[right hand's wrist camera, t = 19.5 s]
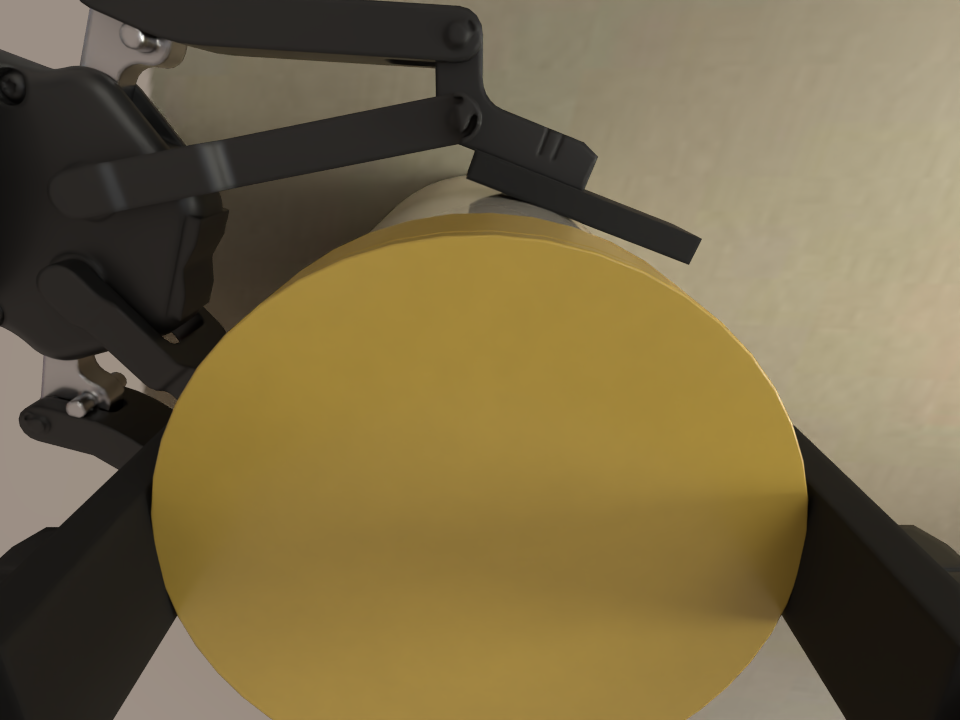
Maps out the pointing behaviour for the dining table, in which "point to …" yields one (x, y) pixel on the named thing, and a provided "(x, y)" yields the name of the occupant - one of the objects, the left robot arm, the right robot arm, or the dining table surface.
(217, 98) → the dining table surface
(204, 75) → the dining table surface
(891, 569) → the right robot arm
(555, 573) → the lid
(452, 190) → the jar
